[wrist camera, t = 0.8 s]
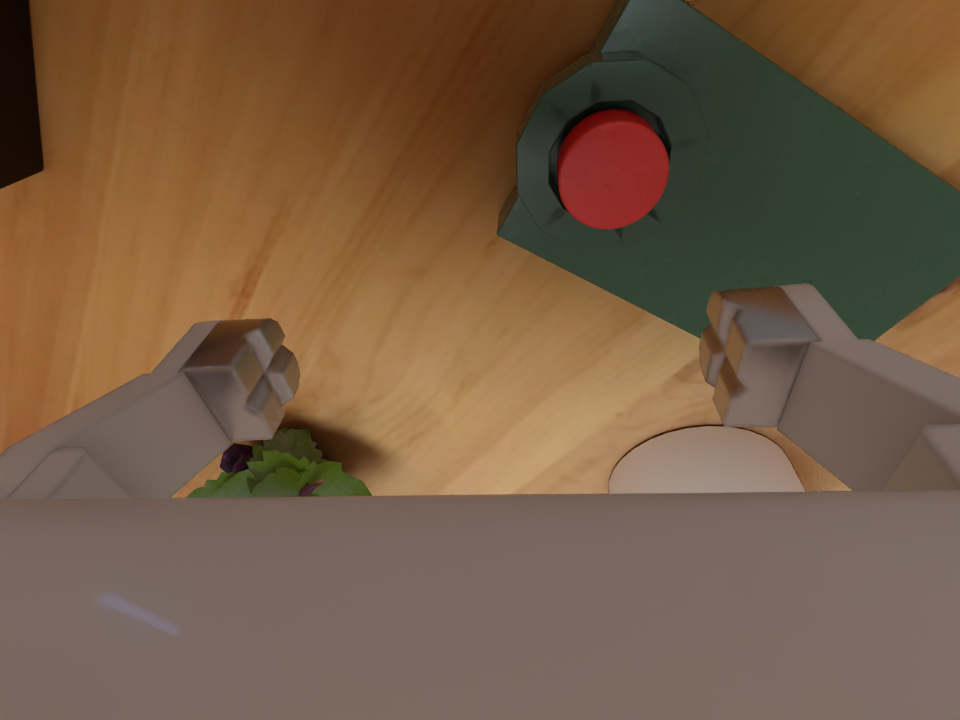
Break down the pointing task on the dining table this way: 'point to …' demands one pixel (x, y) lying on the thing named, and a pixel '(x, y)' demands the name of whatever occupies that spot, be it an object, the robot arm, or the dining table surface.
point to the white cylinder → (705, 464)
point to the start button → (611, 169)
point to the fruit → (280, 471)
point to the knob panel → (17, 96)
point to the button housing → (733, 182)
